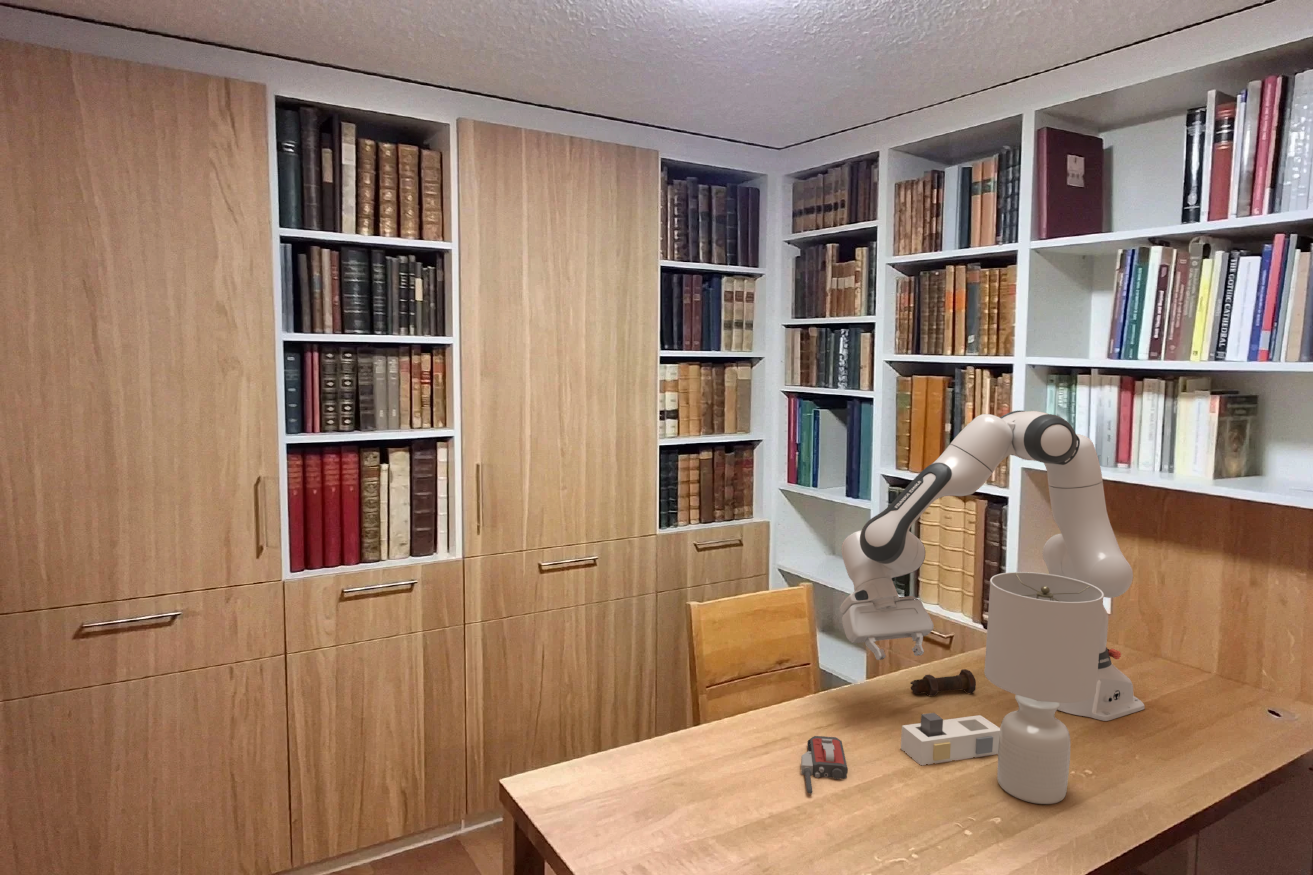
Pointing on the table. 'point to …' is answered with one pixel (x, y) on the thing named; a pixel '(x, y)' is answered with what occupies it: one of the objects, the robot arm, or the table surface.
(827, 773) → the walkie-talkie
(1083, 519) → the robot arm
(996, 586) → the lamp
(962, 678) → the bolt
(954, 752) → the white socket block
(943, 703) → the table surface
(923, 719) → the plug
